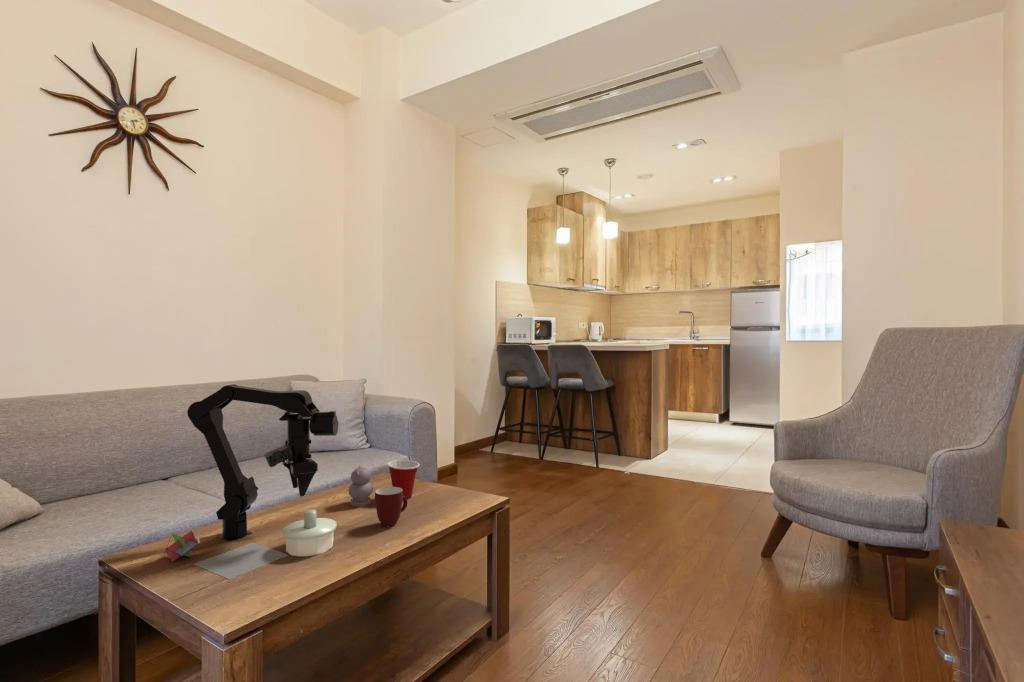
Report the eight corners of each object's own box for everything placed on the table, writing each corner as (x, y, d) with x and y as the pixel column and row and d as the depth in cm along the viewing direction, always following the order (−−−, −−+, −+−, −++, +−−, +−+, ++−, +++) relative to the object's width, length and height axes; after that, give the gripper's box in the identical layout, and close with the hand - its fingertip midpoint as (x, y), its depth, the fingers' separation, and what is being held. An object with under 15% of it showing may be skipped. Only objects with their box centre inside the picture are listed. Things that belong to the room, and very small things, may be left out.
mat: (193, 566, 122) (193, 564, 122) (253, 544, 135) (253, 542, 135) (229, 581, 114) (229, 579, 114) (288, 557, 127) (288, 555, 127)
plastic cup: (415, 502, 169) (415, 467, 169) (383, 502, 169) (383, 466, 169) (422, 492, 180) (422, 459, 180) (392, 492, 180) (392, 458, 180)
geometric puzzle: (167, 561, 119) (188, 528, 123) (150, 556, 122) (171, 523, 127) (192, 570, 124) (211, 537, 129) (175, 564, 127) (195, 532, 132)
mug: (394, 515, 157) (394, 483, 157) (414, 520, 153) (414, 487, 152) (368, 526, 148) (368, 492, 148) (389, 531, 143) (389, 496, 143)
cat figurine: (371, 507, 165) (371, 470, 165) (346, 508, 164) (346, 471, 163) (374, 498, 173) (374, 463, 173) (350, 499, 172) (350, 464, 172)
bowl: (278, 551, 130) (278, 532, 130) (314, 537, 139) (314, 519, 139) (305, 561, 124) (305, 541, 124) (341, 545, 134) (341, 527, 134)
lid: (271, 533, 129) (271, 514, 129) (314, 517, 141) (314, 500, 141) (304, 543, 123) (304, 523, 123) (347, 526, 134) (347, 508, 134)
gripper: (261, 433, 144) (261, 488, 144) (272, 445, 129) (272, 506, 129) (303, 429, 151) (303, 482, 151) (318, 440, 135) (318, 498, 135)
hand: (298, 491), depth 141 cm, fingers open, 9 cm apart
